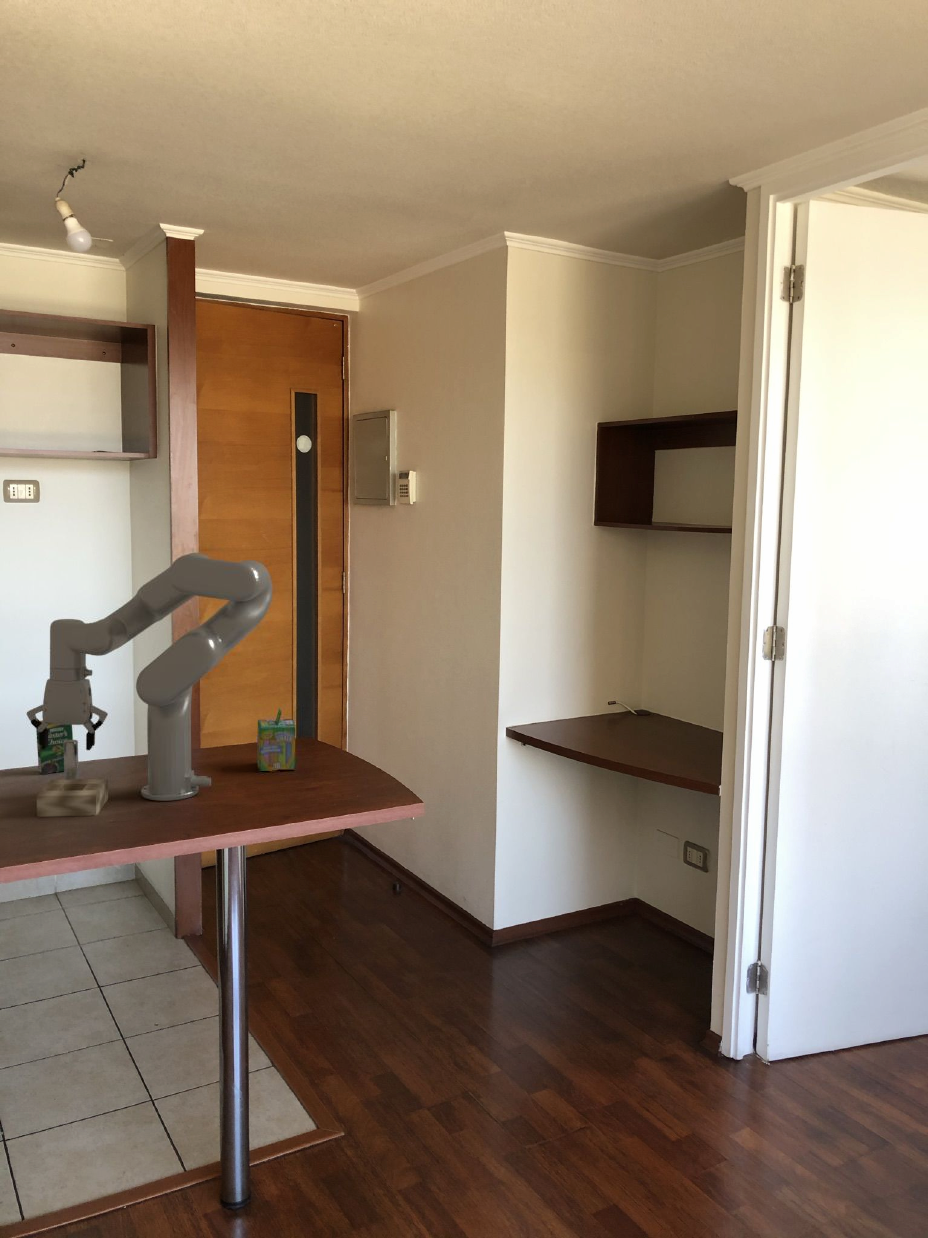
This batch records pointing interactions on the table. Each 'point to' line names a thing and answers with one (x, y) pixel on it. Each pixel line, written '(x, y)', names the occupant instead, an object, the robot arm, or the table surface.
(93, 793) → the wooden square hole block
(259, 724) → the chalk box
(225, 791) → the table surface
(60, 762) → the coffee box
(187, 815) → the table surface
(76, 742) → the steel peg
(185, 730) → the robot arm
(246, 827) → the table surface
